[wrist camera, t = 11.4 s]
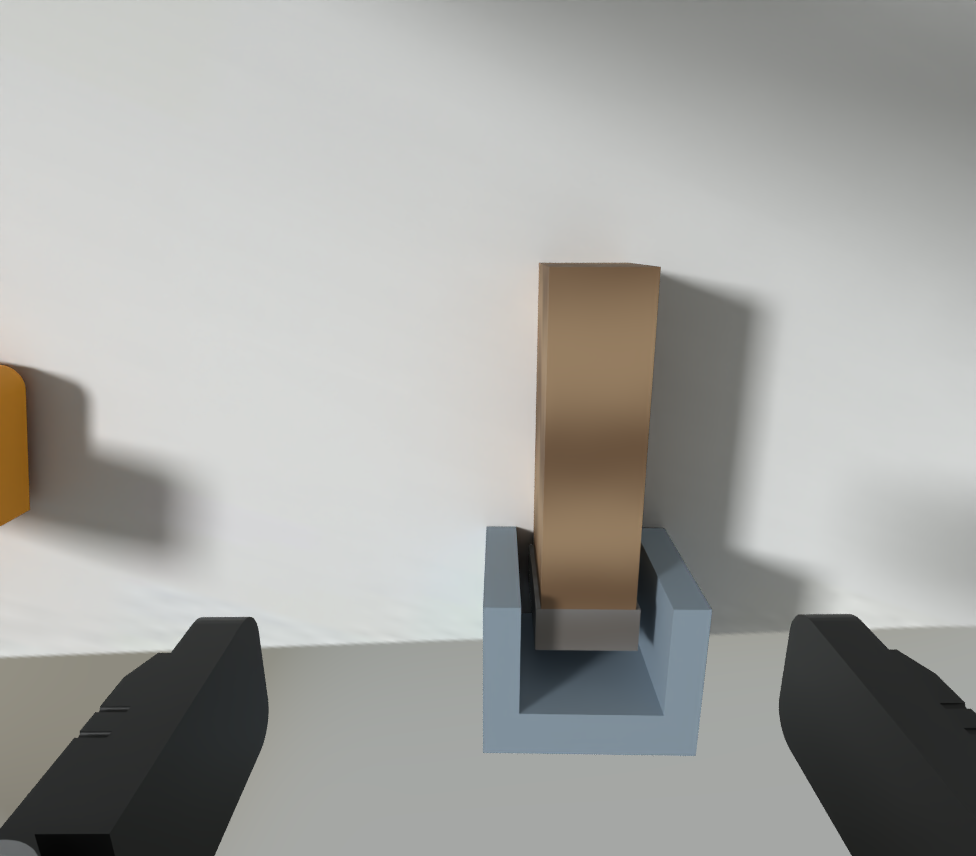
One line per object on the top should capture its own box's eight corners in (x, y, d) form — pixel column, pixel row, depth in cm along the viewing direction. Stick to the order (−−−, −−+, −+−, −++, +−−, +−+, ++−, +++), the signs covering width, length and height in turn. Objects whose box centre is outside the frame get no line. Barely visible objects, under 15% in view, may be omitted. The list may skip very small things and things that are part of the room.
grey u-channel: (486, 526, 32) (483, 607, 25) (664, 528, 32) (712, 610, 25) (486, 645, 34) (483, 752, 27) (653, 647, 34) (695, 755, 27)
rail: (534, 262, 29) (543, 267, 23) (632, 262, 29) (666, 266, 23) (528, 579, 33) (535, 649, 27) (613, 579, 33) (637, 650, 27)
